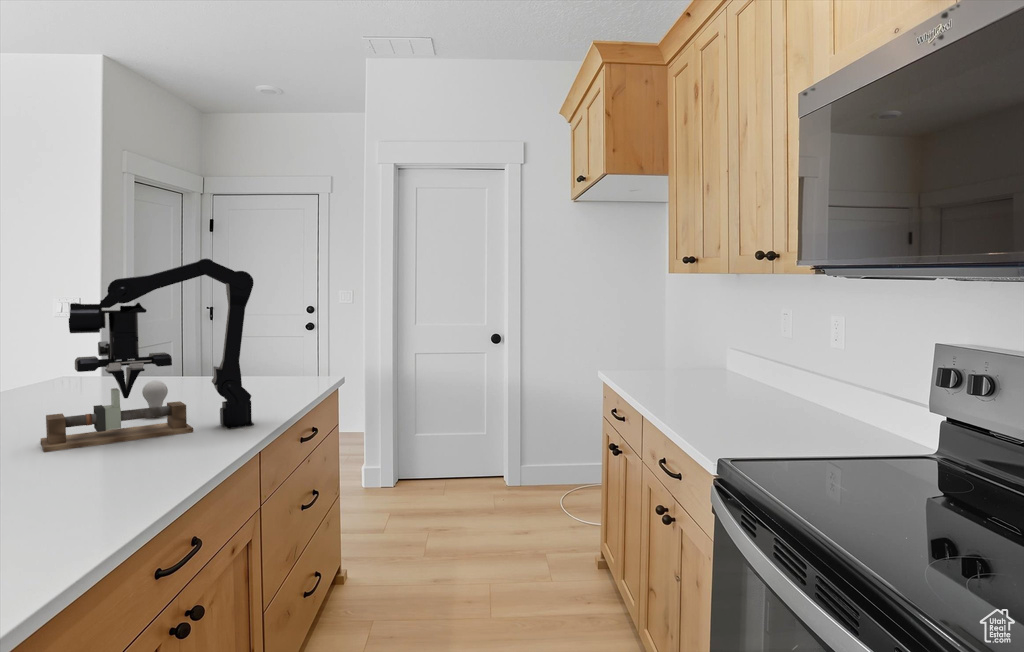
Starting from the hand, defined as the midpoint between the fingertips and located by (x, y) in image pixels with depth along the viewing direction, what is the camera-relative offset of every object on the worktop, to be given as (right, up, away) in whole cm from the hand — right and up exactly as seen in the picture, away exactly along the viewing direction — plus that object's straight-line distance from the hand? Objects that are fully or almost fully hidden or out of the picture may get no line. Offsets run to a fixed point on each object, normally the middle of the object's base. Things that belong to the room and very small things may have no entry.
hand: (125, 398), depth 143 cm
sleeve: (-2, -7, -1) cm, 7 cm away
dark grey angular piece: (-4, -7, -3) cm, 9 cm away
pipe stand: (-1, -9, 0) cm, 9 cm away
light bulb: (-5, -8, +21) cm, 23 cm away
